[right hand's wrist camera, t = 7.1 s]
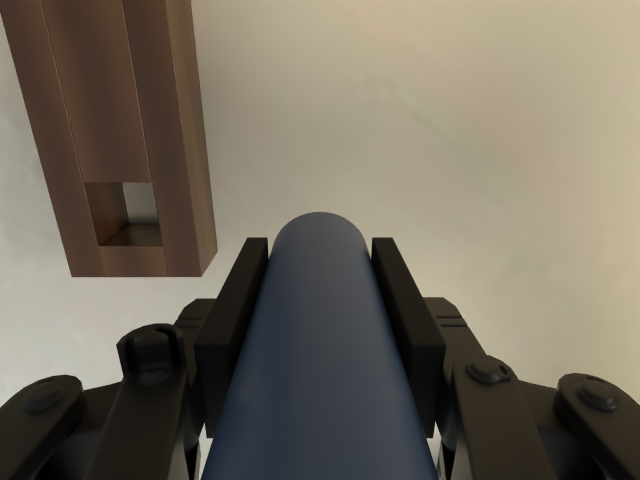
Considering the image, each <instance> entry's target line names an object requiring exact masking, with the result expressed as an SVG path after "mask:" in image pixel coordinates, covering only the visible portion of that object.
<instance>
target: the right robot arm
mask: <svg viewBox="0 0 640 480" xmlns="http://www.w3.org/2000/svg"><path fill="white" fill-rule="evenodd" d="M268 260H269V258H268V239H267V238H247V239H246V241H245V243H244V245H243V247H242V249H241V251H240V253H239V255H238V257H237V259H236V261H235V263H234V265H233V267H232V269H231V271H230V273H229V275H228V277H227V279H226V281H225V283H224V285H223V287H222V289H221V291H220V293H219V295H218V297H217V299H195V300H194V301H193V302H191V303H190V304H189V305H187V306H186V307H184V309H183V310H182V312H181V314H180V315H179V317H178V320H176V322H175V323H174V325H171V324H167V323H165V324H151V325H146V326H143V327H140V328H138V329H135V330H133V331H131V332H129V333H128V334H126V335H125V336H123V337H122V338H121V339H120V341H119V342H118V343H117V344H116V346H117V350H118V354H119V359H120V363H121V367H122V371H123V376H124V377H123V379H122V381H121V382H117V383H114V384H111V385H106V386H102V387H97V388H93V389H88V390H83V386H82V383H81V381H80V380H79V379H78V378H77V377H75V376H70V375H58V376H51V377H48V378H44V379H41V380H38V381H36V382H34V383H32V384H30V385H28V386H26V387H24V388H23V389H22V390H20V391H19V392H18V393H16V394H15V395H14V396H12V397H11V398H10V399H9V400H8V401H7V402H6V403H5V404H4V405H3V406H2V407H0V480H198V479H199V469H200V459H201V451H200V444H199V436H200V433H201V431H202V428H203V425H204V422H205V428H206V435H207V438H214V435H215V431H216V428H217V425H218V422H219V419H220V415H221V412H222V409H223V406H224V402H225V399H226V396H227V393H228V389H229V386H230V383H231V380H232V377H233V373H234V370H235V367H236V364H237V360H238V357H239V354H240V351H241V348H242V344H243V341H244V338H245V335H246V331H247V328H248V325H249V322H250V318H251V315H252V312H253V309H254V306H255V302H256V299H257V296H258V293H259V289H260V286H261V283H262V280H263V276H264V273H265V270H266V267H267V264H268ZM371 261H372V264H373V268H374V271H375V274H376V277H377V281H378V284H379V287H380V290H381V294H382V297H383V300H384V303H385V307H386V310H387V313H388V316H389V319H390V323H391V326H392V329H393V332H394V336H395V339H396V342H397V345H398V349H399V352H400V355H401V358H402V361H403V365H404V368H405V371H406V374H407V378H408V381H409V384H410V387H411V391H412V394H413V397H414V400H415V404H416V407H417V410H418V413H419V416H420V420H421V423H422V426H423V429H424V433H425V436H426V438H433V434H434V427H435V421H436V424H437V427H438V429H439V432H440V435H441V444H440V451H439V457H438V463H437V470H436V471H437V475H438V478H440V477H441V478H442V480H640V405H639V404H638V403H636V402H635V401H634V400H633V399H632V398H631V397H630V396H629V395H628V394H626V393H625V392H624V391H622V390H621V389H620V388H618V387H617V386H615V385H613V384H611V383H609V382H607V381H605V380H603V379H601V378H598V377H594V376H591V375H588V374H579V373H572V374H567V375H564V376H563V377H562V378H561V379H560V380H559V382H558V385H557V389H555V388H550V387H546V386H541V385H536V384H532V383H528V382H524V381H521V380H518V379H517V376H516V375H515V373H514V372H513V370H512V369H511V368H510V367H509V366H508V365H506V364H505V363H504V362H502V361H501V360H499V359H496V358H494V357H492V356H489V355H486V353H485V352H484V350H483V348H482V347H481V345H480V344H479V342H478V341H477V339H476V338H475V336H474V334H473V333H472V331H471V330H470V328H469V327H468V326H467V323H466V322H465V320H464V319H463V318H462V316H461V314H460V312H459V311H458V309H457V308H456V306H454V305H453V304H452V303H450V302H449V301H447V300H446V299H445V298H443V297H422V295H421V293H420V291H419V289H418V287H417V286H416V284H415V282H414V280H413V278H412V276H411V274H410V272H409V270H408V268H407V266H406V264H405V262H404V260H403V258H402V256H401V254H400V252H399V250H398V248H397V246H396V244H395V242H394V240H393V238H372V254H371Z"/></svg>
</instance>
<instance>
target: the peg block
mask: <svg viewBox="0 0 640 480" xmlns="http://www.w3.org/2000/svg"><path fill="white" fill-rule="evenodd" d="M0 13H1V17H2V20H3V24H4V28H5V32H6V35H7V39H8V43H9V46H10V50H11V54H12V57H13V61H14V65H15V69H16V72H17V76H18V80H19V83H20V87H21V91H22V95H23V98H24V102H25V106H26V109H27V113H28V117H29V120H30V124H31V128H32V132H33V135H34V139H35V143H36V146H37V150H38V154H39V157H40V161H41V165H42V169H43V172H44V176H45V180H46V183H47V187H48V191H49V194H50V198H51V202H52V206H53V209H54V213H55V217H56V220H57V224H58V228H59V231H60V235H61V239H62V243H63V246H64V250H65V254H66V257H67V261H68V265H69V269H70V272H71V276H72V277H202V275H203V274H204V272H205V271H206V269H207V267H208V266H209V264H210V263H211V261H212V259H213V258H214V256H215V255H216V253H217V251H218V250H217V241H216V232H215V223H214V213H213V204H212V195H211V186H210V176H209V167H208V158H207V149H206V139H205V130H204V121H203V112H202V102H201V93H200V84H199V75H198V65H197V56H196V47H195V38H194V29H193V19H192V10H191V1H190V0H0ZM121 182H153V188H154V194H155V200H156V206H157V212H158V218H159V224H129V221H128V216H127V210H126V205H125V200H124V195H123V190H122V185H121Z"/></svg>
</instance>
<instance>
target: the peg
mask: <svg viewBox="0 0 640 480" xmlns="http://www.w3.org/2000/svg"><path fill="white" fill-rule="evenodd" d="M201 480H439V478H438V475H437V471H436V468H435V465H434V462H433V459H432V455H431V452H430V449H429V446H428V442H427V439H426V436H425V433H424V429H423V426H422V423H421V420H420V416H419V413H418V410H417V407H416V404H415V400H414V397H413V394H412V391H411V387H410V384H409V381H408V378H407V374H406V371H405V368H404V365H403V361H402V358H401V355H400V352H399V349H398V345H397V342H396V339H395V336H394V332H393V329H392V326H391V323H390V319H389V316H388V313H387V310H386V307H385V303H384V300H383V297H382V294H381V290H380V287H379V284H378V281H377V277H376V274H375V271H374V268H373V264H372V261H371V258H370V255H369V252H368V248H367V245H366V242H365V240H364V237H363V235H362V234H361V232H360V231H359V230H358V229H357V228H356V226H355V225H353V224H352V223H351V222H350V221H348V220H347V219H345V218H343V217H341V216H339V215H336V214H332V213H327V212H313V213H307V214H304V215H301V216H299V217H297V218H295V219H293V220H292V221H290V222H289V223H287V224H286V225H285V226H284V227H283V228H282V229H281V231H280V232H279V234H278V235H277V237H276V239H275V241H274V244H273V247H272V251H271V254H270V257H269V260H268V264H267V267H266V270H265V273H264V276H263V280H262V283H261V286H260V289H259V293H258V296H257V299H256V302H255V306H254V309H253V312H252V315H251V318H250V322H249V325H248V328H247V331H246V335H245V338H244V341H243V344H242V348H241V351H240V354H239V357H238V360H237V364H236V367H235V370H234V373H233V377H232V380H231V383H230V386H229V389H228V393H227V396H226V399H225V402H224V406H223V409H222V412H221V415H220V419H219V422H218V425H217V428H216V431H215V435H214V438H213V441H212V444H211V448H210V451H209V454H208V457H207V460H206V464H205V467H204V470H203V473H202V477H201Z"/></svg>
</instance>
